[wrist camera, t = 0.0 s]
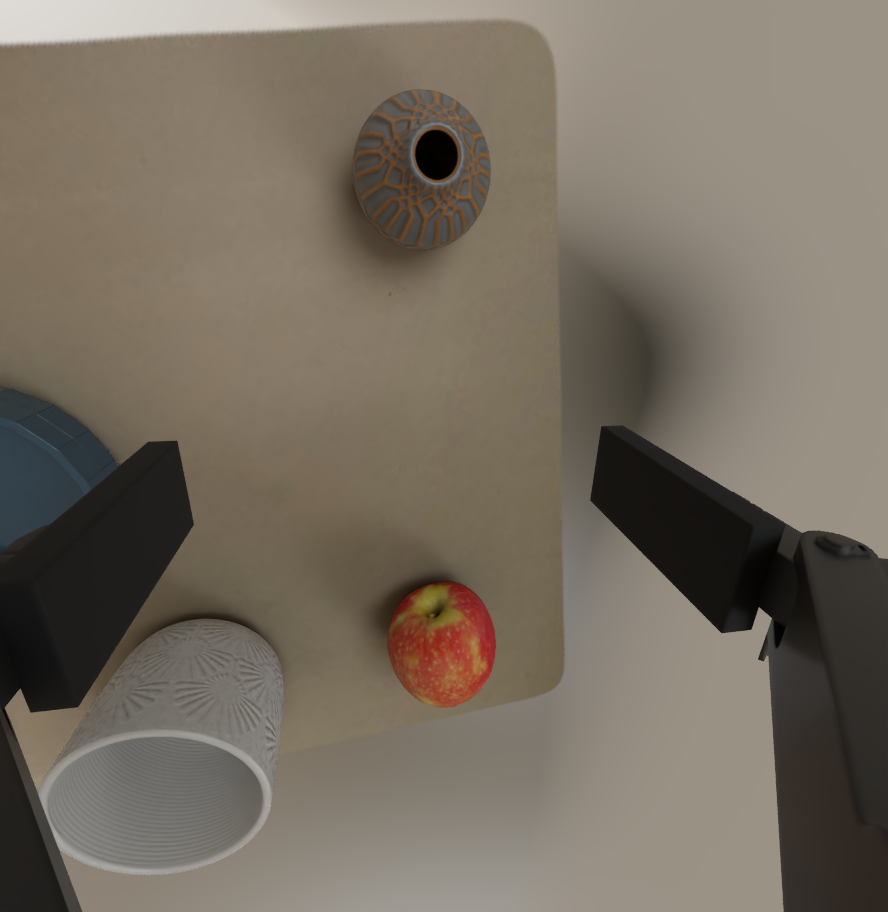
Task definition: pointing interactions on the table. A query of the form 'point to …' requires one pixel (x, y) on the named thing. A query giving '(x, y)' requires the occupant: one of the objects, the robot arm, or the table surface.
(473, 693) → the apple
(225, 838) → the planter
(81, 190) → the table surface
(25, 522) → the bowl
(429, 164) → the vase
